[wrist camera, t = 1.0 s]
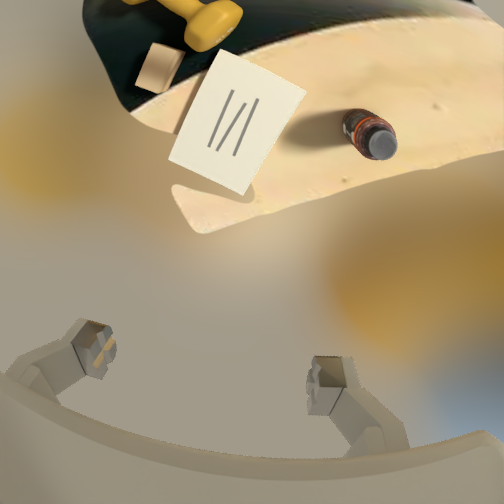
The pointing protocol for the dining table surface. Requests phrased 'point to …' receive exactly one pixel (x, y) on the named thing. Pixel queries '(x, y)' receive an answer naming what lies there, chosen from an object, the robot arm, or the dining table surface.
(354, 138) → the supplement bottle
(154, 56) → the block
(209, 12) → the dumbbell
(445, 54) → the dining table surface
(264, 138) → the board
